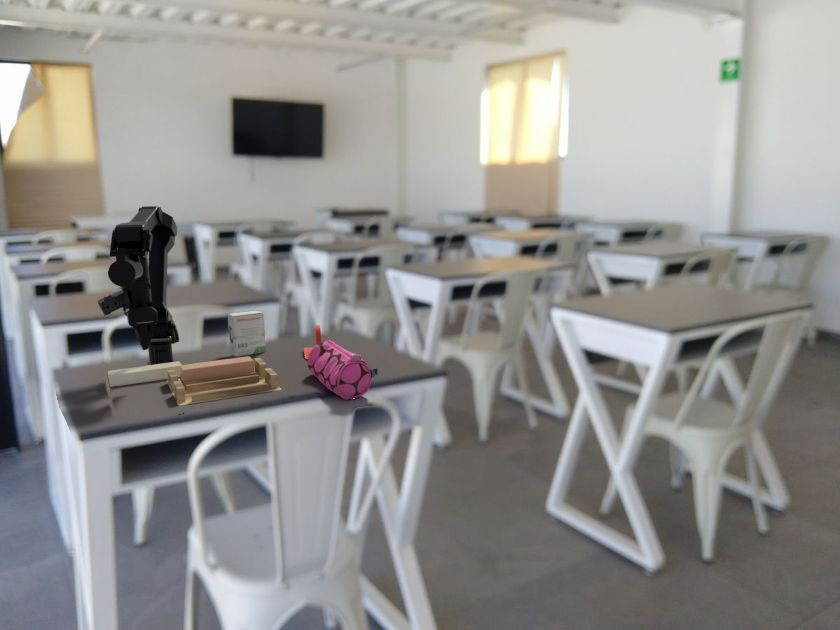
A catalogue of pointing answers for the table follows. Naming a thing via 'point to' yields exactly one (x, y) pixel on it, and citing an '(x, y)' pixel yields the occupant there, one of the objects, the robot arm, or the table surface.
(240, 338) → the ink box
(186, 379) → the fired brick
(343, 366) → the pencil case
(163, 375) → the long ivory plank
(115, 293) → the robot arm
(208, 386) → the rack
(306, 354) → the bracket
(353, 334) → the table surface
